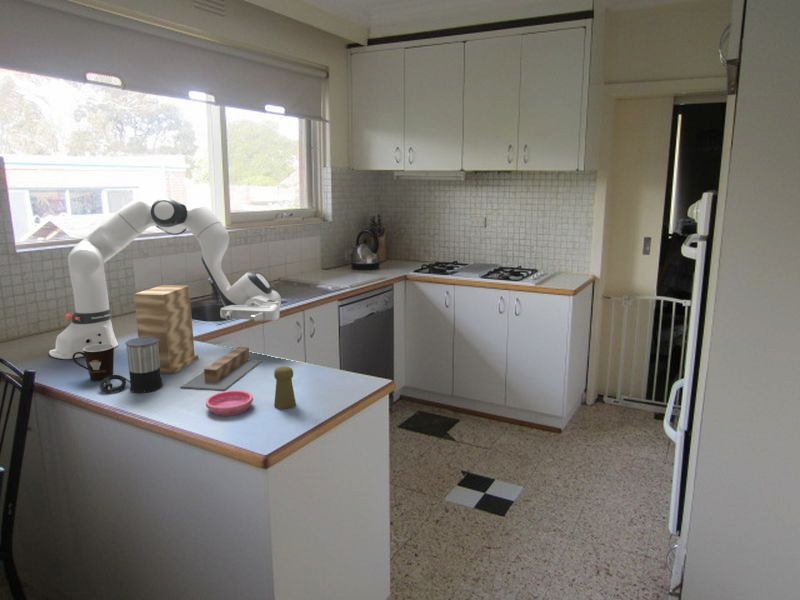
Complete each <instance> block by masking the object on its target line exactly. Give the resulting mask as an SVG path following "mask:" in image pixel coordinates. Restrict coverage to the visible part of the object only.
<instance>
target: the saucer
mask: <svg viewBox="0 0 800 600" xmlns="http://www.w3.org/2000/svg"><path fill="white" fill-rule="evenodd" d="M253 400H254V396H253V394H252V393H250V392H248V391H245V390H244V391H243V390H228V391H227V390H225V391H221V392H218V393H215V394H212V395H210V396H209V397H208V398H207V399H206V401H205V407H206V408H207V409H208V410H209V411H211V412H212V413H213V414H215V415H217V416H225V417H226V416H233V415H234V416H235V415H238V414H241V413H244V412H246V410H247V409H248V408H249V407H250V406H251V405H252V403H253V402H254V401H253Z"/></svg>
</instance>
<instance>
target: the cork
mask: <svg viewBox="0 0 800 600" xmlns="http://www.w3.org/2000/svg"><path fill="white" fill-rule="evenodd" d="M273 374H274V375H273V376H274V379H275V380H276V381H275V390H274V391H275V392H274V402H273V403H274V404H273V405H274V407H273V408H274V409H277V410H290V409H293V408H295V407H296V406H297V403H296V397H295V391H294V387H293V386H294V385H293V381H292V379H293V377H294V370H293V368H292V367H290V366H279V367H277V368H275V370H274V371H273Z"/></svg>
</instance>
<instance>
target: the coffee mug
mask: <svg viewBox="0 0 800 600" xmlns="http://www.w3.org/2000/svg"><path fill="white" fill-rule="evenodd" d="M114 351H115V347H114V345H112V344H96V345H91V346H87V347H85V348H84V349H83V352H84V353H83V352H76V353H74V354H73V358H72V361H73V362H74V363H75V364H76V365H78V366H79V367H81V368H83V369H84V370H87V372H88V374H89V378H90V381H91V382H101V381H102V380H103V379H104V378H105V377H107V376H110V375H114V364H115V363H114V360H115V358H114V357H115V356H114V354H115V352H114ZM76 354H82V355H83V356H82V357H84V359H85V362H86V366H85V365H83V364H81V363H79V362H78V361H77V360H76V358H75V355H76Z"/></svg>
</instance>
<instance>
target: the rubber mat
mask: <svg viewBox="0 0 800 600" xmlns="http://www.w3.org/2000/svg"><path fill="white" fill-rule="evenodd" d="M261 363H262V360H260V359H248V360H247V361H245V362H244V363H243V364H241V365H240V366H239V367H237V368H236V369H234V370H233V371H232V372H230V373H229V374H228V375H226V376H225V377H224V378H222V379H221V380H219V381H218V382H205V375H204V371H202V372H201V373H200V374H198V375H196V376H195V377H193V378H191V379H190V380H188V381H187V382H186V383H183V384H182V385H181V386H180V389H188V390H189V389H190V390H191V389H192V390H204V391H205V390H206V391H217V392H218V391H221V392H226V391H227V390H228V389H229V388H231V387H232V386H233V385H234V384H235V383H237V382H238V381H239V380H241V377H242V376H243V375H244V376H246V375H247V374H248V373H249V372H251V371H252V370H253V369H255V368H256V367H257V366H258V365H260V364H261ZM255 366H256V367H255ZM251 369H252V370H251ZM250 370H251V371H250ZM247 372H248V373H247ZM246 373H247V374H246ZM244 376H243V377H244ZM238 379H239V380H238ZM237 380H238V381H237ZM232 384H233V385H232Z"/></svg>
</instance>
